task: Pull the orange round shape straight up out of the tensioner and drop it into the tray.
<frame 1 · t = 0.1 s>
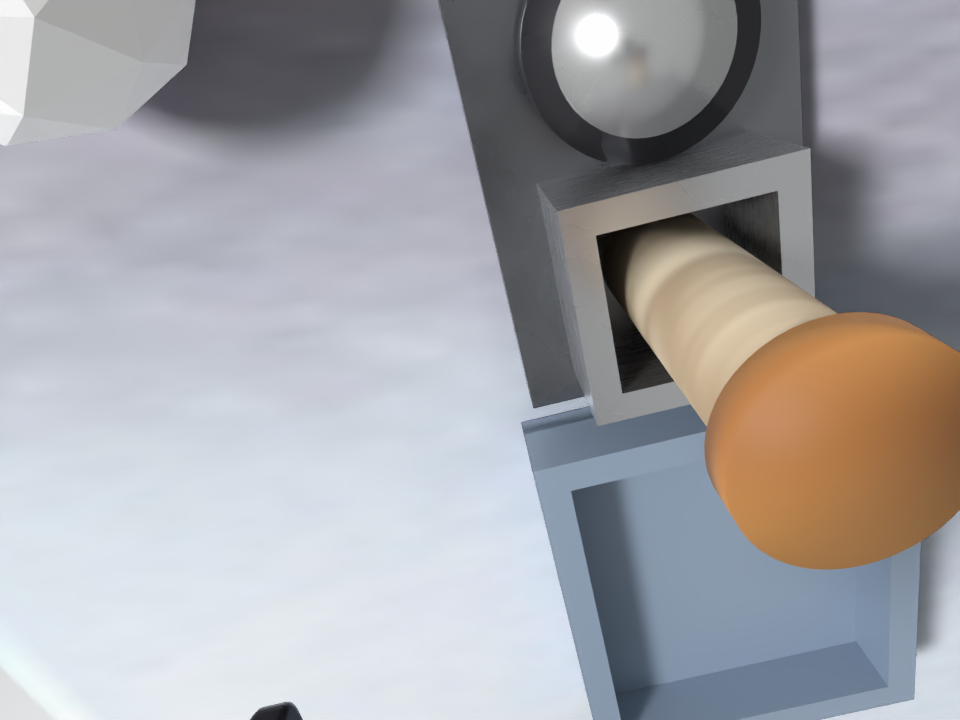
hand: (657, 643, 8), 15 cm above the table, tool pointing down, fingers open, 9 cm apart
tray: (712, 541, 27), on the table
tensioner: (645, 248, 22), on the table
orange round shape: (655, 258, 21), point 1 cm above the table, touching tensioner
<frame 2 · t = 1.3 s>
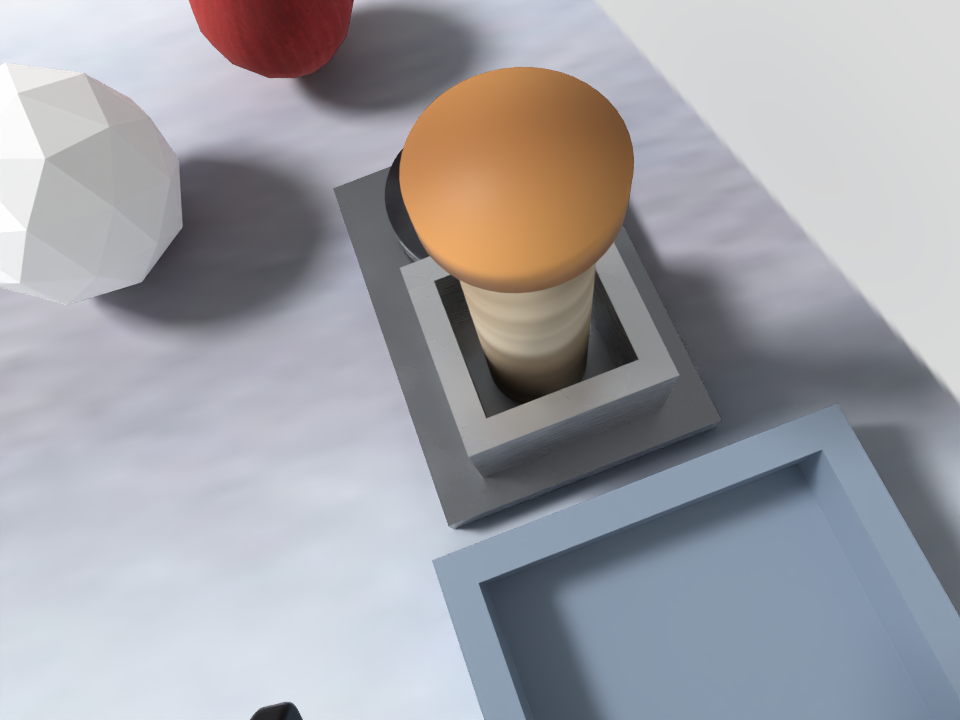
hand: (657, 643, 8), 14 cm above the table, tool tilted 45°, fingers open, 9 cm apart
onion: (308, 67, 29), on the table
tensioner: (538, 368, 24), on the table
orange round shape: (537, 358, 23), point 1 cm above the table, touching tensioner
ball: (127, 242, 28), on the table
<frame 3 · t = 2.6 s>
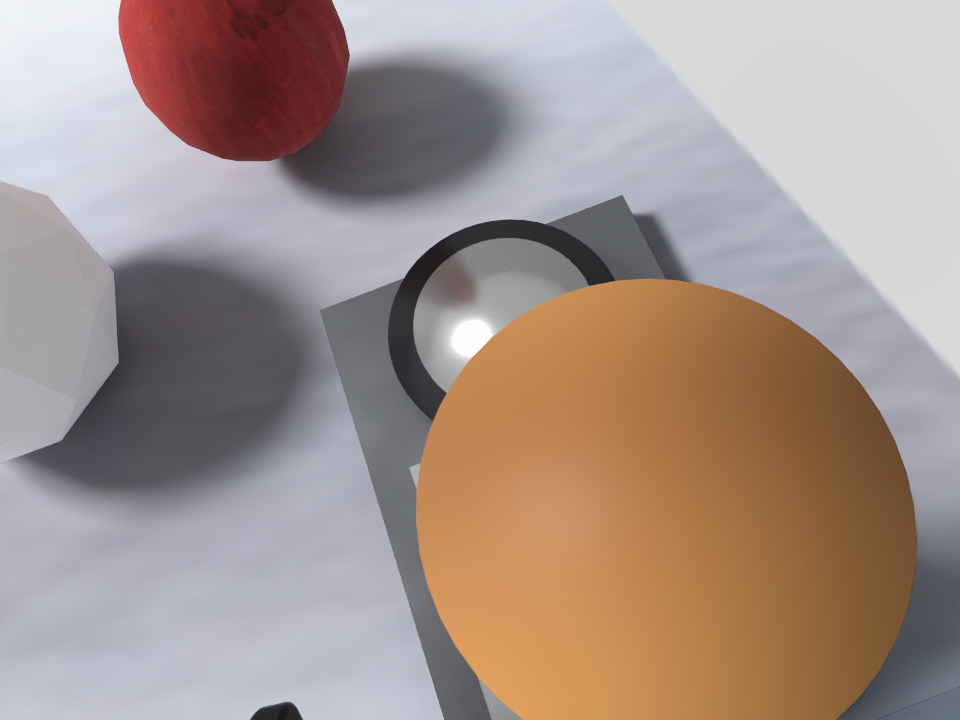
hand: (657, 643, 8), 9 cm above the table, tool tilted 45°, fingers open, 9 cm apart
onion: (291, 139, 23), on the table
tensioner: (598, 571, 17), on the table
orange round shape: (600, 569, 16), point 1 cm above the table, touching tensioner
ball: (53, 371, 21), on the table
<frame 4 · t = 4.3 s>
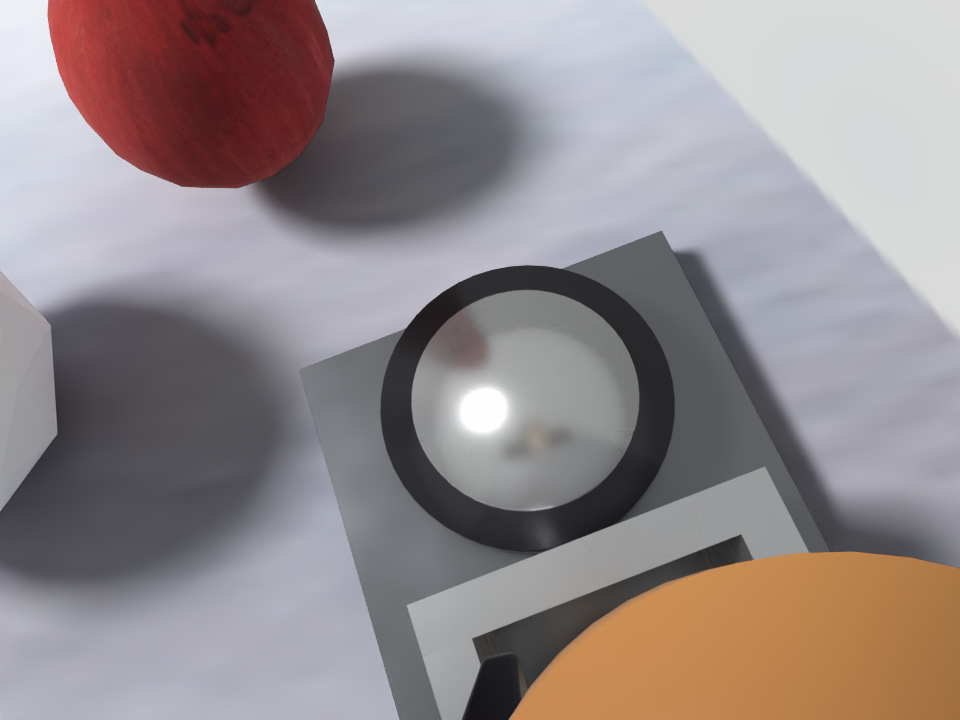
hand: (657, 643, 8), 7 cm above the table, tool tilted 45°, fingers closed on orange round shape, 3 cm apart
onion: (268, 157, 20), on the table
tensioner: (638, 698, 14), on the table
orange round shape: (643, 704, 13), point 1 cm above the table, touching gripper, tensioner
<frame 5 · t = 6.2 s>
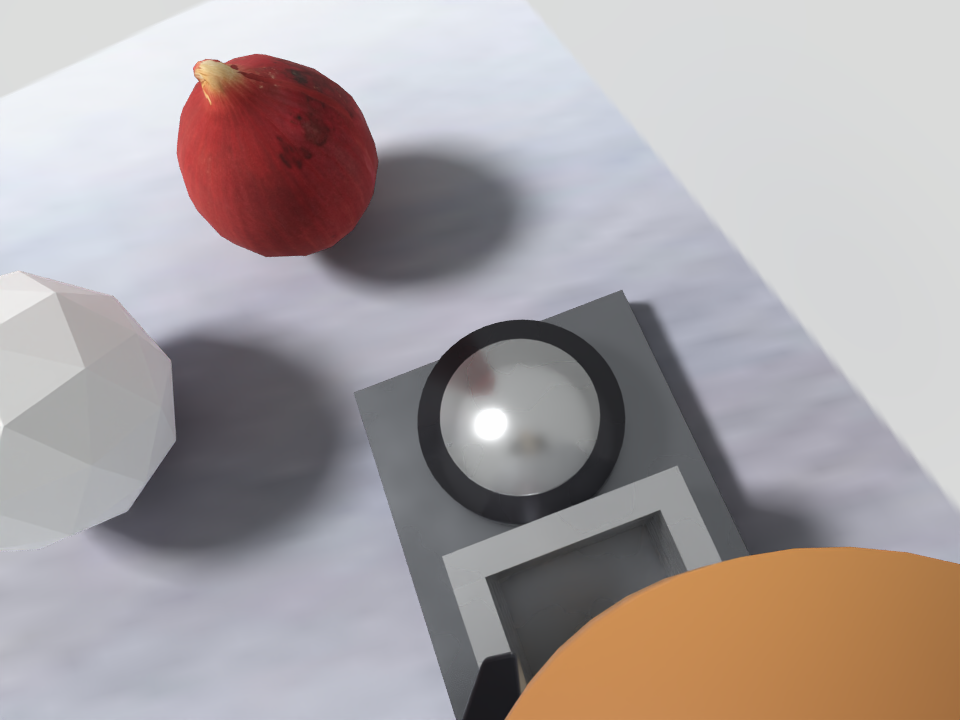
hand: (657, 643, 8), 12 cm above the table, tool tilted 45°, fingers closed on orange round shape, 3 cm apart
onion: (321, 223, 26), on the table
tensioner: (600, 629, 20), on the table
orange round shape: (643, 703, 13), point 7 cm above the table, touching gripper
ball: (112, 439, 24), on the table
when the fingers open (9 cm above the table, at t = 8.4 s): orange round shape drops 2 cm, resting on tray.
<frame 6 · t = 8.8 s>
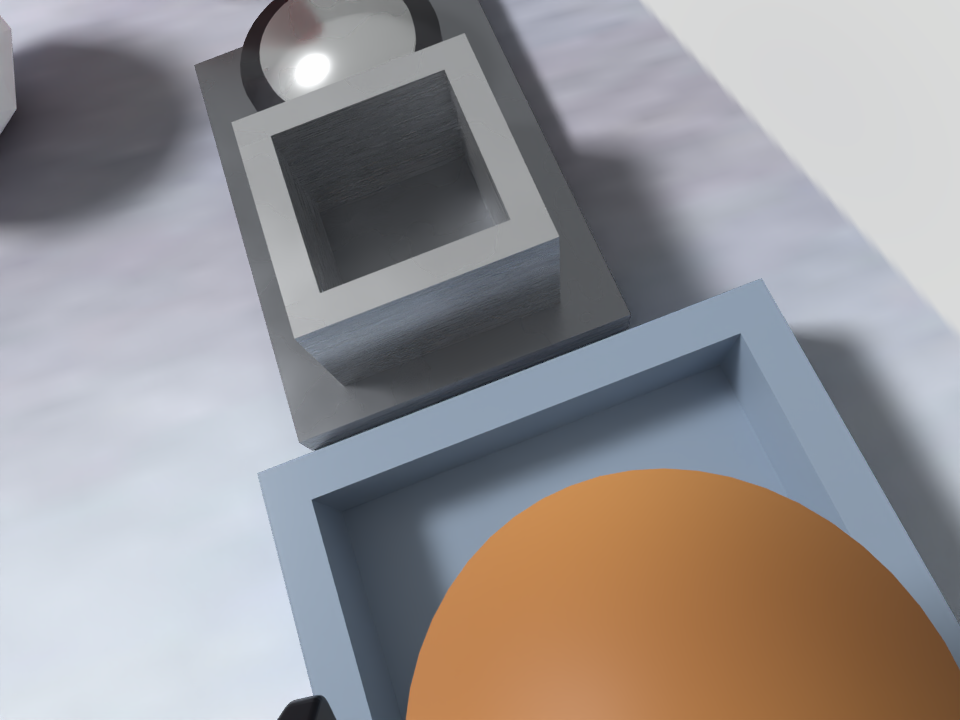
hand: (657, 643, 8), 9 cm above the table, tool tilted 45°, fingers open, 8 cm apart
tray: (629, 685, 16), on the table
tensioner: (423, 264, 20), on the table
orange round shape: (636, 695, 15), point 1 cm above the table, tilted 6°, touching tray
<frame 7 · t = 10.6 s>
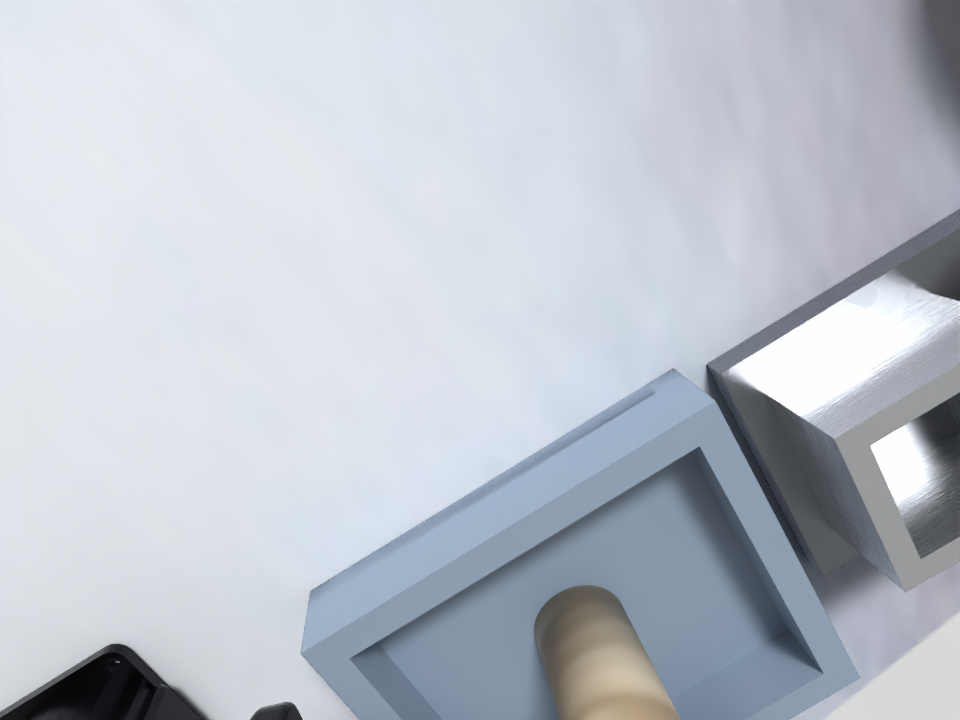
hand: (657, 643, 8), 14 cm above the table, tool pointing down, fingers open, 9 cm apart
tray: (575, 606, 25), on the table
tensioner: (861, 407, 24), on the table
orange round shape: (579, 624, 24), point 1 cm above the table, touching tray
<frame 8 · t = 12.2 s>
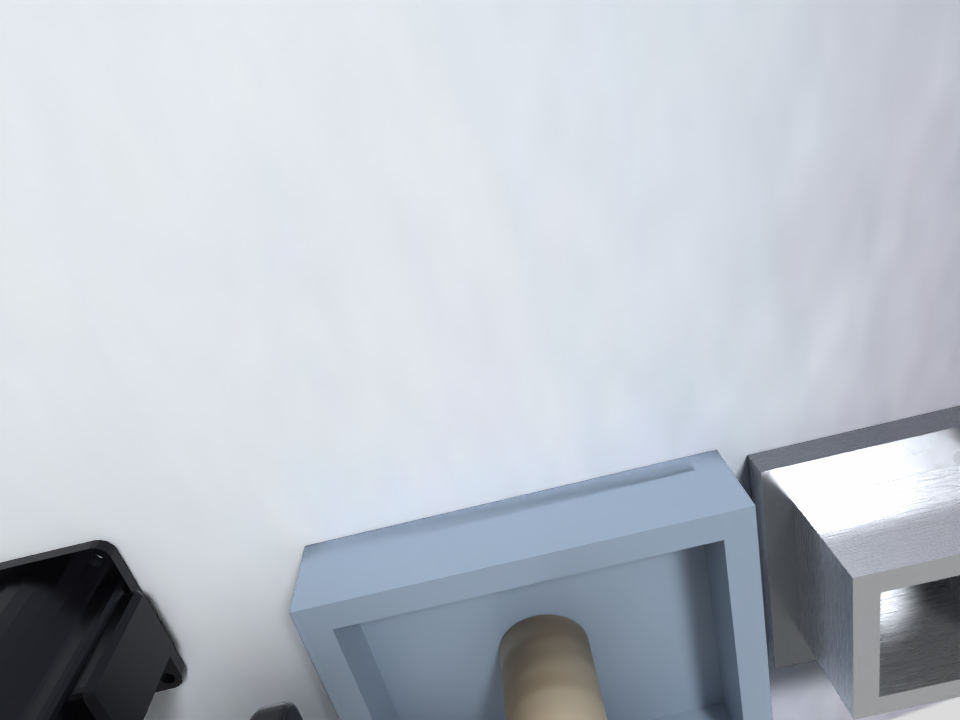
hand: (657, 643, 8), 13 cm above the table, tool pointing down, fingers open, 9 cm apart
tray: (543, 628, 26), on the table
tensioner: (868, 533, 25), on the table
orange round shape: (544, 647, 25), point 1 cm above the table, touching tray
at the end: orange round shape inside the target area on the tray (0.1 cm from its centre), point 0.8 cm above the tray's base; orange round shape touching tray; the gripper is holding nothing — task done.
